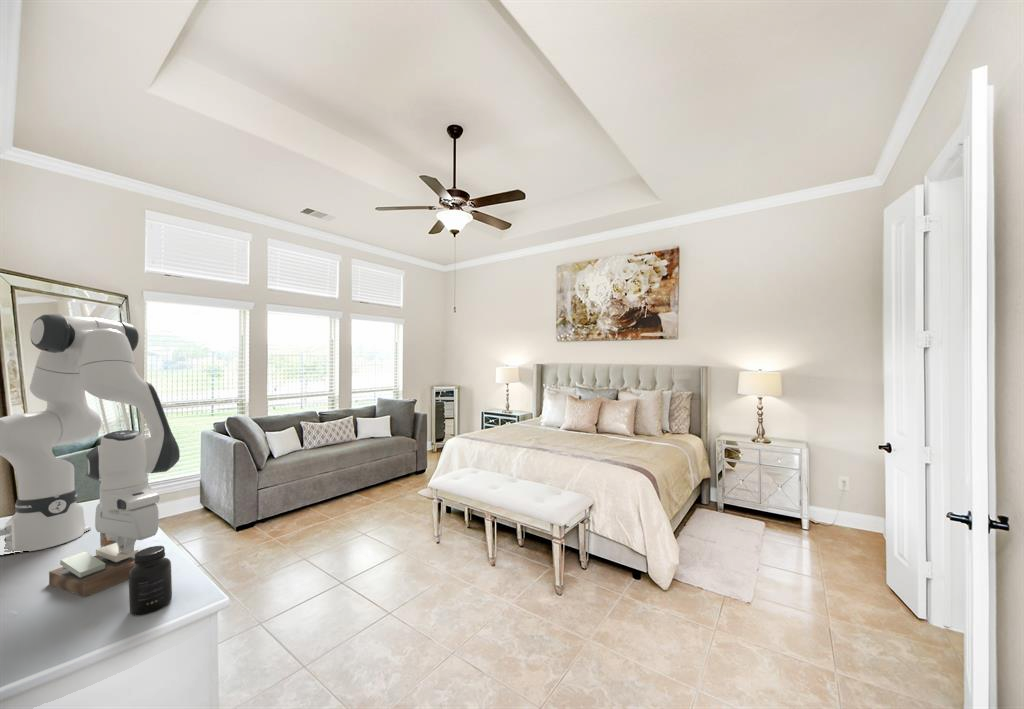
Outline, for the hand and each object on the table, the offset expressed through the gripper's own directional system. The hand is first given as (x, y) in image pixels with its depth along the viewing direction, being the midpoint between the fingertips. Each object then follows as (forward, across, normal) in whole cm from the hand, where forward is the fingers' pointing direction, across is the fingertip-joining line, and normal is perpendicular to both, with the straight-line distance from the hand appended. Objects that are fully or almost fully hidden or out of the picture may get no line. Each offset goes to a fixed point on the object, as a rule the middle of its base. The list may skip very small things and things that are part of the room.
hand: (126, 552), depth 101 cm
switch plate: (+5, -4, -3) cm, 7 cm away
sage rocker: (+1, -4, -6) cm, 8 cm away
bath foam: (+5, -19, +7) cm, 21 cm away
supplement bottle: (+6, +23, -6) cm, 24 cm away
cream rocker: (+1, -4, 0) cm, 4 cm away
